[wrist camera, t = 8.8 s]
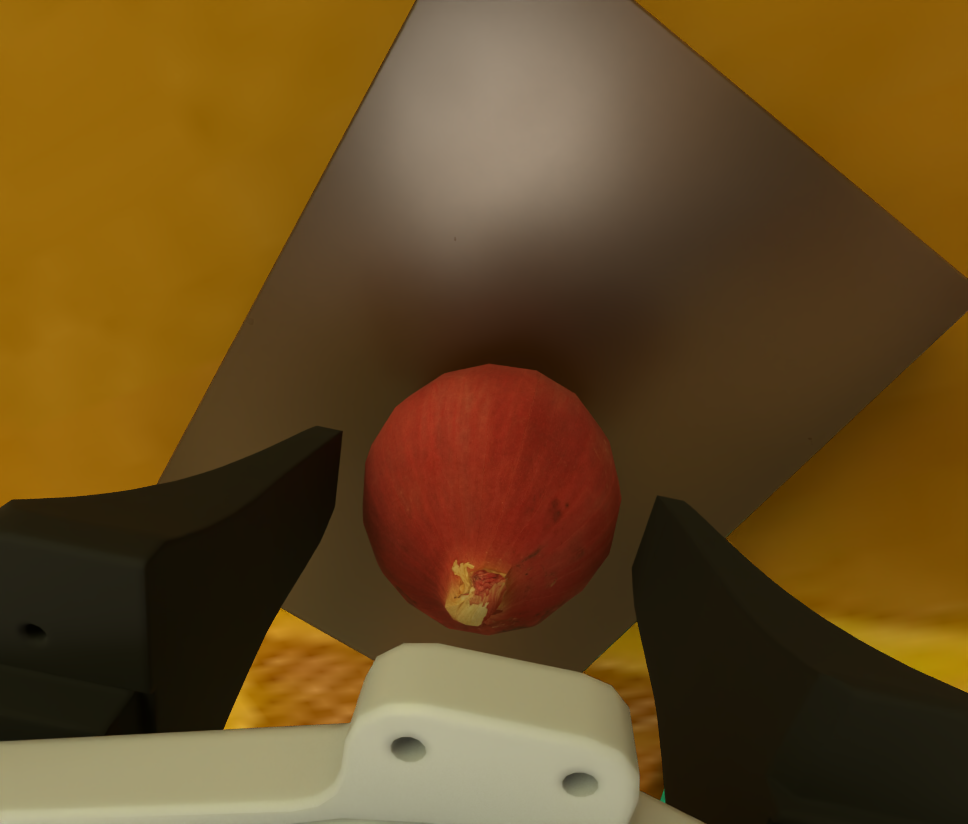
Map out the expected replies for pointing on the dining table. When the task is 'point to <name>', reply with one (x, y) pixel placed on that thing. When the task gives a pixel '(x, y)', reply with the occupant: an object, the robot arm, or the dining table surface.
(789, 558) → the dining table surface
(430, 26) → the platform
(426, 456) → the onion
